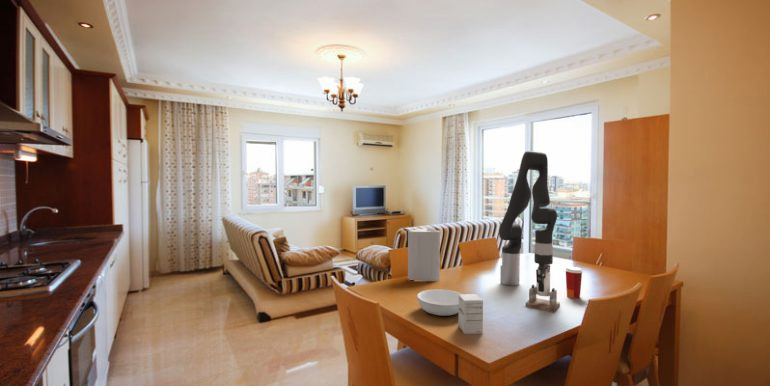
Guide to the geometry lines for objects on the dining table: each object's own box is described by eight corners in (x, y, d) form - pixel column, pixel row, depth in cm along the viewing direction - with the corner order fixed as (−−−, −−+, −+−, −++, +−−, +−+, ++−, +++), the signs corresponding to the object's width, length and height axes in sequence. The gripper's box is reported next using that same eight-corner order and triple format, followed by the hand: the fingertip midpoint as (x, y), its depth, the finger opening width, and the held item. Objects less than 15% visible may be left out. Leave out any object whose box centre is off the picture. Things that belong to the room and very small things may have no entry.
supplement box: (457, 326, 141) (458, 294, 141) (476, 325, 142) (476, 293, 141) (463, 334, 134) (463, 300, 133) (483, 333, 134) (483, 299, 134)
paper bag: (429, 284, 198) (429, 233, 197) (407, 279, 207) (407, 231, 207) (447, 277, 212) (447, 229, 212) (426, 273, 222) (426, 227, 221)
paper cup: (581, 295, 179) (582, 267, 179) (582, 300, 172) (583, 270, 172) (564, 293, 182) (564, 265, 182) (564, 298, 175) (564, 269, 175)
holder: (525, 306, 164) (525, 286, 164) (532, 300, 172) (532, 282, 172) (554, 312, 157) (554, 292, 156) (559, 305, 164) (560, 286, 164)
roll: (534, 294, 164) (535, 271, 163) (538, 291, 168) (538, 269, 168) (547, 297, 160) (548, 273, 160) (551, 294, 164) (551, 271, 164)
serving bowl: (436, 325, 142) (436, 307, 142) (408, 308, 161) (408, 293, 161) (476, 316, 152) (477, 299, 152) (446, 301, 171) (446, 286, 170)
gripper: (539, 249, 171) (538, 284, 172) (530, 254, 160) (529, 292, 161) (556, 251, 167) (555, 287, 167) (548, 256, 155) (547, 295, 156)
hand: (543, 289), depth 164 cm, fingers closed on roll, 5 cm apart
